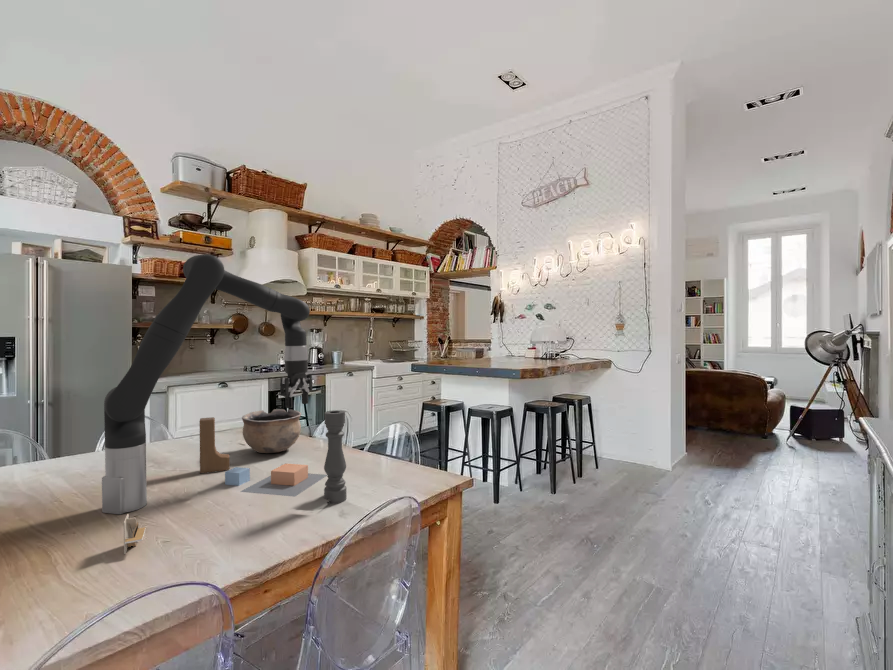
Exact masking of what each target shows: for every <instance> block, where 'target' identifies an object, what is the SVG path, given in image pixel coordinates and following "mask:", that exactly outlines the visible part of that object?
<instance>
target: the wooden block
mask: <svg viewBox="0 0 893 670" xmlns="http://www.w3.org/2000/svg"><path fill="white" fill-rule="evenodd" d="M215 422H216V420H215V417H201V418H200V419H199V473H200V474H208V473H207V472H209V473H216V472H215V471H217V472H225V471H228V470H231V469H230V468H231V467H230V463H231V462H230V454H227V453H220V451H218V450H217V447H216V423H215ZM224 470H225V471H224Z"/></svg>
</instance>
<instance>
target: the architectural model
mask: <svg viewBox="0 0 893 670" xmlns="http://www.w3.org/2000/svg"><path fill="white" fill-rule="evenodd" d="M146 529H147V528H146V527H139V522H138V521H137V518H136V517H130V518H129V513H127V514H126V516H125V519H124V521H123V555H124V554H125V555H126V553H127V551H128V549H127V548H128V547H129V548H132V547H131V546H133V547H137V543H136V542H138V543H139V542H141V541H143V539H144V535H145V532H146Z"/></svg>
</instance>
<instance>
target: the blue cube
mask: <svg viewBox="0 0 893 670" xmlns="http://www.w3.org/2000/svg"><path fill="white" fill-rule="evenodd" d="M250 471H251V470H250V468H249V467H239V466H235V467H232V468H231V469H229V470H225V471H224V484H225V485H226V486H235V487H237V486H238V487H239V486H242V485H243V484H245V483H248V482H250V481H251V472H250Z"/></svg>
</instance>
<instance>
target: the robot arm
mask: <svg viewBox="0 0 893 670" xmlns="http://www.w3.org/2000/svg"><path fill="white" fill-rule="evenodd" d="M182 266H183V269H182V270H183V275H184V277H185V280H184V282H183V284H182V286H181V288H180V289H179V291H178V292H177V293H176V295H175V296H174V297H173V298H172V299H171V300H170V301H169V302H168V303H167V304H166V305H165V306H164V307H163V308H162V309H161V310H160V311H159V313H158V314H156V316H155V318H154V319H153V321H152V322H151V324H150V325H149V327H148V329H147V330H146V332H145V334H144V336H143V337H142V339H141V341H140V344H139V347H138V348H137V351H136V353H135V356H134V358H133V361H132V364H131V366H130V367H129V369H128V371H126V373H125V374H124V376H123V378H122V379H121V380H120V382H119V383H118V384H117V386H116V387H113V388H112V389H111V390H109V391H108V392H107V394H106V395H105V398H104V402H103V403H104V404H103V407H104V408H103V412H104V413H103V414H104V415H103V416H104V417H103V418H104V419H103V420H104V422H103V423H104V463H105V464H104V466H105V467H104V468H105V469H104V470H105V471H104V473H105V475H103V476H102V477H101V511H102V513H106V514H115V515H123V514H125V513H129V512H134V511H137V510H140V509H142V508H144V507H146V506H147V503H148V501H147V500H148V499H147V496H148V495H147V493H148V490H147V489H148V488H147V486H148V485H147V433H146V411H145V410H146V407H147V404H148V402H149V400H150V398H151V395H152V394H153V391H154V389H155V387H156V384H157V383H158V381H159V379H160V377H161V375H163V373H164V371H165V370H166V369H167V368H168V366H169V365H170V363H172V360H173V359H174V358H175V356H176V355H177V353H178V351H179V349H180V348H181V346H182V345H183V343H184V342H185V339H186V338H187V336H188V334H189V333H190V330H191V329H192V327H193V325H194V323H195V322H196V321H197V318H198V316H199V314H200V312H201V310H202V308H203V306H205V303H206V302H207V301H208V299H209V297H210V296H211V295H212V294H213V293H214V291H215V290H217V291H220V292H223V293H226V294H229V295H231V296H232V297H233V296H234V297H237V298H238V299H241V300H243V301H245V302H247V303H249V304H251V305H254V306H255V307H258V308H261V309H263V310H266V311H267V312H272V313H278V314H280V319H281V324H282V328H283V331H284V345H285V346H284V373H286V374H287V376H286V377H281V378H280V379H279V380H280V388H279V389H280V390H279V395H280V397H284V402H285V403H284V405H285V408H286V409H292V408H293V407H294V406H293V395H294V392H296V391H297V390H298V389H299V390H300V391H301V404H302V405H308V404H309V393H310V392H311V391H313V375H312V373H307V372H308V371H309V366H308V364H309V358H308V356H309V355H308V347H307V331H306V330H305V329H304V328H302V325H301V322H302V321H304V320H306V319H307V318H308V317H309V316H310V310H311V309H310V306H309V305H308V304H307V303H306V302H305V301H303V300H301V299H299V298H297V297H293V296H290V295H288V294H287V295H286V294H284V293H281V292H279V291H278V290H275V289H272V288H271V287H268V286H267V285H263V284H261V283H260V282H255V281H252V280H249V279H246V278H244V277H241V276H238V275H236V274H234V273H231V272H229V271H227V270H226V269H225V265H224V264H223V261H222V260H221V259H220V258H219V257H218V256H215V255H212V254H196V255H193V256H191V257H189V258H187V259H186V261H185V262H184V264H183V265H182Z"/></svg>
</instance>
